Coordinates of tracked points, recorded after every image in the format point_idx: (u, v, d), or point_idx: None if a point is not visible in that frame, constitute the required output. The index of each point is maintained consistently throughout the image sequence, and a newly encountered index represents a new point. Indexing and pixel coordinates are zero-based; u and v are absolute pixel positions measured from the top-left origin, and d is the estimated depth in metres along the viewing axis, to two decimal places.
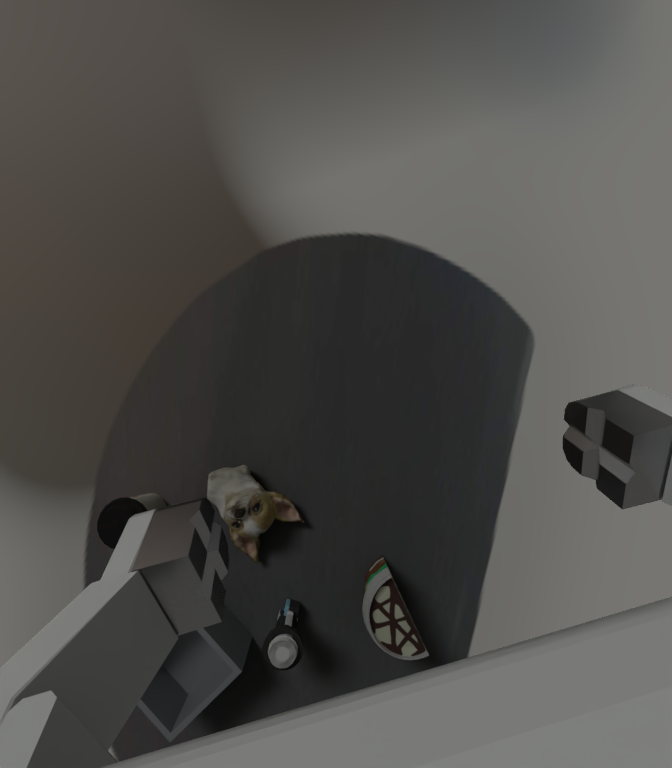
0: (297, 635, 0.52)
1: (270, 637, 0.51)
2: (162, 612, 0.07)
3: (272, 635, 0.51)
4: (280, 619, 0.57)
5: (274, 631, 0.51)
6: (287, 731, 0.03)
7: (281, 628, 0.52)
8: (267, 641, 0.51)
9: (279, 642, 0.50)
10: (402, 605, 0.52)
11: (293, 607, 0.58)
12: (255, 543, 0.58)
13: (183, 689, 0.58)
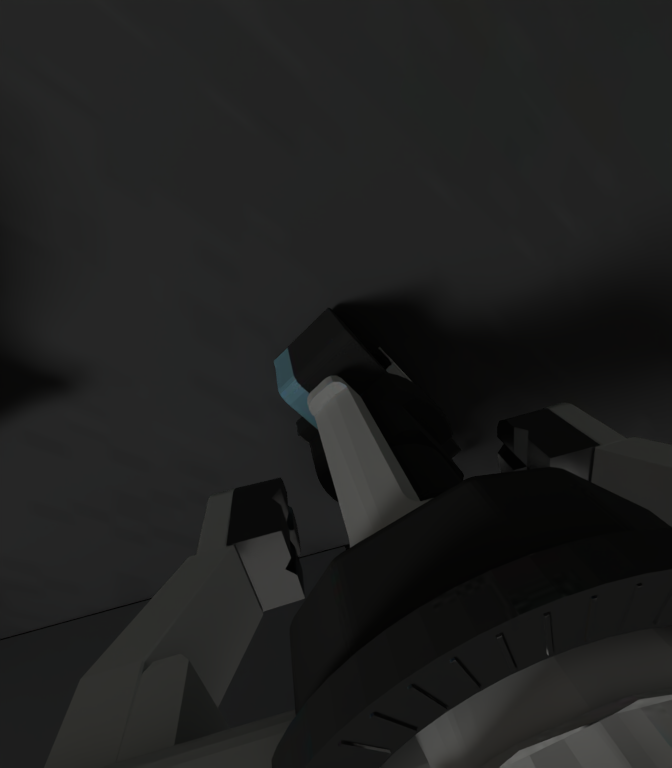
0: (583, 593, 0.02)
1: None
2: (251, 587, 0.07)
3: None
4: (323, 469, 0.08)
5: None
6: None
7: (296, 765, 0.03)
8: None
9: None
10: None
11: (314, 357, 0.08)
12: None
13: None
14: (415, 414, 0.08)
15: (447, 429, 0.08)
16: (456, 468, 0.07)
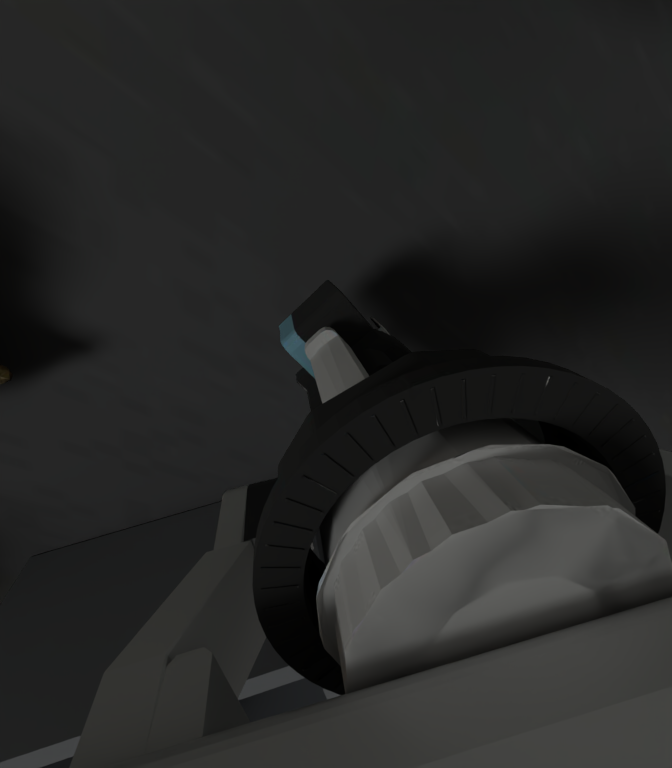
0: (459, 381, 0.04)
1: (294, 625, 0.05)
2: None
3: (286, 607, 0.05)
4: (316, 407, 0.10)
5: (262, 575, 0.04)
6: (287, 732, 0.03)
7: (275, 503, 0.04)
8: (313, 655, 0.05)
9: (380, 634, 0.04)
10: None
11: (312, 313, 0.10)
12: None
13: None
14: (395, 360, 0.09)
15: None
16: None
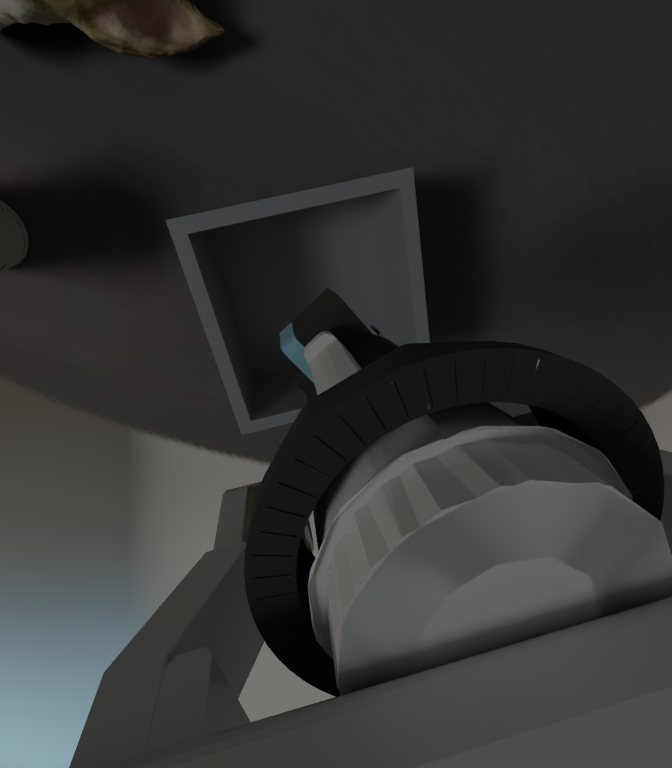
0: (449, 364, 0.04)
1: (287, 618, 0.05)
2: None
3: (279, 598, 0.05)
4: None
5: (254, 564, 0.04)
6: (286, 730, 0.03)
7: (267, 488, 0.04)
8: (306, 651, 0.05)
9: (370, 618, 0.04)
10: None
11: (311, 319, 0.10)
12: None
13: None
14: None
15: None
16: None
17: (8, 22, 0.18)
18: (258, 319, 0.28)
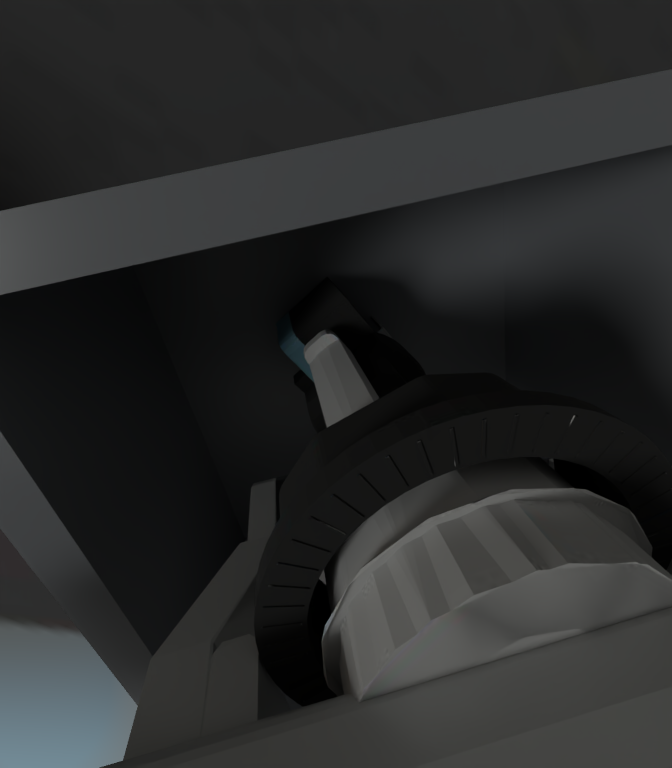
0: (479, 420, 0.04)
1: (296, 659, 0.05)
2: None
3: (289, 643, 0.04)
4: (315, 412, 0.09)
5: (264, 613, 0.04)
6: (287, 730, 0.03)
7: (280, 542, 0.04)
8: (314, 687, 0.05)
9: (391, 689, 0.03)
10: None
11: (311, 315, 0.10)
12: None
13: None
14: (397, 366, 0.09)
15: None
16: None
17: None
18: (251, 437, 0.14)
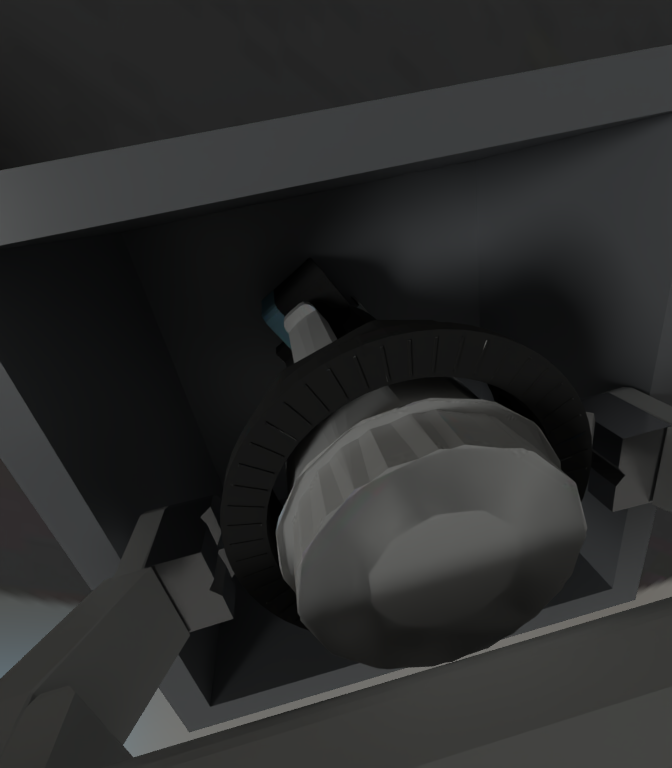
0: (406, 341, 0.04)
1: (258, 560, 0.05)
2: (174, 609, 0.07)
3: (251, 543, 0.05)
4: None
5: (229, 513, 0.05)
6: (287, 731, 0.03)
7: (241, 447, 0.05)
8: (275, 589, 0.06)
9: (327, 557, 0.04)
10: None
11: (292, 288, 0.10)
12: None
13: None
14: None
15: None
16: None
17: None
18: (238, 412, 0.14)
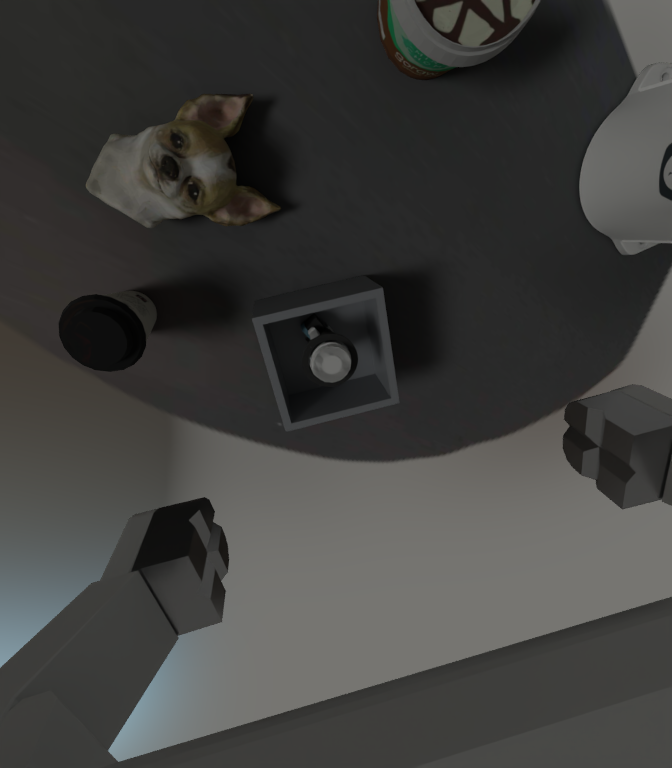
0: (326, 335, 0.35)
1: (307, 367, 0.36)
2: (162, 612, 0.07)
3: (306, 364, 0.36)
4: None
5: (303, 359, 0.36)
6: (287, 730, 0.03)
7: (305, 349, 0.36)
8: (309, 373, 0.37)
9: (316, 360, 0.35)
10: None
11: (309, 323, 0.41)
12: (249, 192, 0.36)
13: (367, 376, 0.48)
14: None
15: None
16: None
17: (172, 218, 0.35)
18: (291, 359, 0.45)
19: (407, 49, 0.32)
